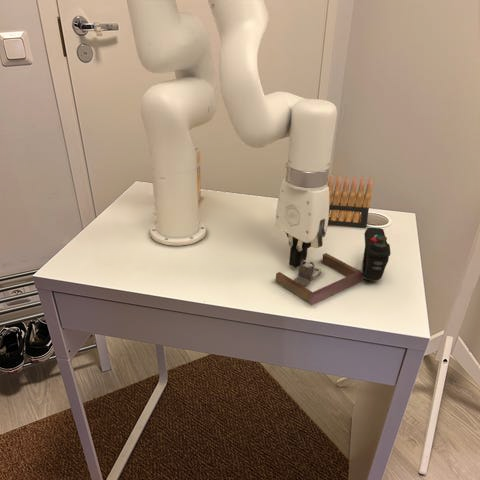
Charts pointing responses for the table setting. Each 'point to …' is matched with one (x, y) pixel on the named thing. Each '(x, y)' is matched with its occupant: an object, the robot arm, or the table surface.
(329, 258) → the frame
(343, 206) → the ammunition clip
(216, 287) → the table surface
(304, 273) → the strap clip
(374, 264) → the controller
